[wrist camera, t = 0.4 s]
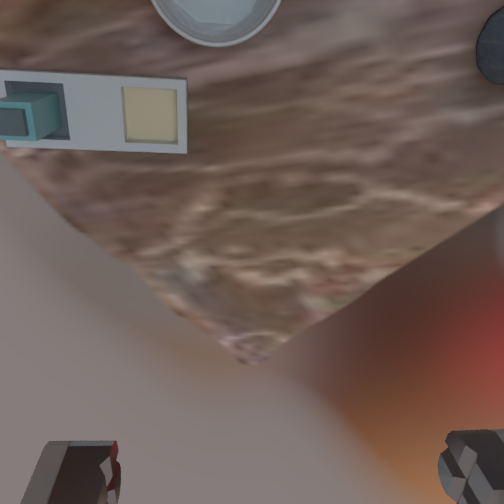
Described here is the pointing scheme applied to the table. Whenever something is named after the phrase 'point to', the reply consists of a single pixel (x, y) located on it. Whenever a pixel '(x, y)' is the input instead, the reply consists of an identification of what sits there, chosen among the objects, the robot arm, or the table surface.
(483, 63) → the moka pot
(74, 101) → the socket panel
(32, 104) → the teal plug
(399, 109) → the table surface
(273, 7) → the ramekin
